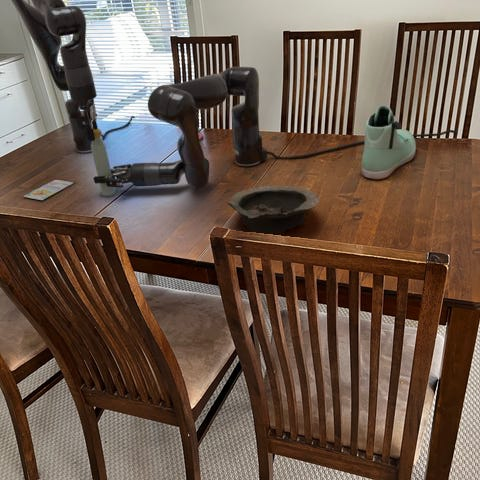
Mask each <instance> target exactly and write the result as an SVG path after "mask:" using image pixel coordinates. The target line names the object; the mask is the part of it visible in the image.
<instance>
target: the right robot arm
mask: <svg viewBox="0 0 480 480" xmlns="http://www.w3.org/2000/svg"><path fill="white" fill-rule="evenodd" d="M228 96H236V97H244V102H242V103H238V104H236V105H234V106H233V107H232V108H231V122H232V134H233V135H232V136H233V147H234V149H233V153H234V159H235V160H234V163H235V165H237V166H238V167H246V168H248V167H249V168H250V167H255V166H258V165H259V164H260V163H264V160H267V159H268V155H270V156H272V157H273V158H275V159H277V160H294V159H295V160H296V159H302V158H303V159H304V158H308V157H312V156H316V155H321V154H325V153H329V152H333V151H337V150H341V149H345V148H350V147H353V146H359V145H364V144H365V140H361V141H356V142H352V143H349V144H348V143H347V144H344V145H340V146H336V147H331V148H327V149H324V150H320V151H316V152H311V153H307V154H306V153H305V154H301V155H292V156H280V155H279V156H278V155H277V154H275V153H274V152H272V151H268V149H266V148H264V147H263V138H262V136H261V134H260V121H259V120H260V119H259V109H260V108H259V107H260V106H259V105H260V78H259V72H258V69H256V68H255V67H253V66H230V67H228V68H226V69H225V70H223V71H220V72H219V73H211V74H208V75H203V76H200V77H198V78H195V79H194V78H193V79H190V80H187V81H183V82H179V83H171V84H170V83H168V84H161V85H159V86H158V87H156V88H154V90H152V92H151V93H150V95H149V97H148V100H147V110H148V112H149V114H150V115H151V116H152V117H153V118H154V119H156V120H158V121H161V122H163V123H166V124H168V125H171V126H176V127H178V128H179V129H180V131H181V134H180V136H179V137H178V139H177V143H176V145H177V146H176V149H177V153H178V155H179V157H180V159H179V160H176V161H172V162H136V163H132V164H131V163H126V164H121V165H115V166H113V168H112V167H110V169H111V173H112V175H109V176H98V175H96V176H94V177H93V183H95V184H96V185H97V184H100V183H106V186H107V187H115V188H118V189H119V188H120V189H122V188H124V184H130V183H131V184H132V185H133V186H134V187H135V188H137V187H140V188H141V187H156V186H162V185H163V186H164V185H165V186H166V185H177V184H179V183H180V182H181V180H182V176H183V175H184V176H185V180H186V183H187V184H188V185H189V186H190V187H191V188H193V189H196V190H201V189H204V188H205V187H207V185H208V184H209V180H210V161H209V159H208V158H207V157H205V154H204V151H203V147H202V145H201V142H200V140H199V136H198V133H199V124H198V113H197V111H199V110H201V111H203V110H209V109H212V108H213V109H214V108H216V107H218V106H220V105H221V104H224V102H225V101H226V99H227V97H228ZM448 133H449V134H450V133H452V134H454V135H458V132H457V131H456V130H453V129H448V130H445V131H442V132H439V133H421V134H420V133H418V134H417V133H416V134H412V135H413V137H414V138H420V137H421V138H422V137H425V138H427V137H439V136H443V135H445V134H448Z"/></svg>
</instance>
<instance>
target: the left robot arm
mask: <svg viewBox="0 0 480 480" xmlns="http://www.w3.org/2000/svg"><path fill="white" fill-rule="evenodd" d="M10 2H11V3H12V5H13V6H14V7H15V9H16V11H17V13H18V14H19V16H20V18H21V20H22V23H24V26H25V28H26V30H27V31H28V34H29V35H30V38H31V39H32V41H33V43H34V44H35V46H36V48H37V50H38V52H39V53H40V55H41V56H42V59H43V60H44V63H45V65H46V67H47V69H48V71H49V74H50V76H51V78H52V80H53V83H54V85H55V87H56V88H57V89H58V90H59V91H61V92H68V93H69V96H70V98H69V99H67V100H65V102H64V106H65V110H66V114H67V115H66V116H67V118H68V122H69V126H70V130H71V133H72V137H73V138H72V140H73V143H74V145H75V148H76V149H75V150H76V152H77V153H80V154H87V153H92V150H91V144H92V143H91V142H92V141H95V135H94V131H93V129H99V126H98V123H97V118H98V114H97V110H96V105H95V98H97V95H98V93H97V90H96V85H95V80H94V76H93V72H92V70H91V67H90V63H89V58H88V53H87V45H86V43H87V18H86V16H85V13H84V12H83V10H82V9H81V8H80V7H79V6H77V5H69V6H66V3H65V2H64V1H63V0H31V3H32V5H31V4H30V3H29V2H28V1H26V0H10ZM71 35H72V38H71V41H70V42H68V43H66V44H64V45H62V37H65V36H71ZM59 54H60V58H61V61H62V64H63V65H61V64H60V63H59V60H58V57H59ZM133 119H136V117H135V116H134V115H132V116H130V119H129V121H128V122H127V123H125V124H123V125H122V126H118V127H115V128H111V129H109V130H106V131H105V132H104V134H102V136H101V139H105V138H106V137H107V134H109V133H111V132H114V131H118V130H121V129H124V128H126V127H128V126H129V124H131V122H132V120H133Z"/></svg>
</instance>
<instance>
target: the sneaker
mask: <svg viewBox="0 0 480 480" xmlns="http://www.w3.org/2000/svg"><path fill="white" fill-rule="evenodd" d="M364 129H365V130H364V141H365V143H364V148H363V153H362V158H361V175H362V176H363V177H365V178H367V179H371V180H382V179H385V178H387V177H389V176H390V175H391V174H392V173H394V171H395V170H396V169H398V168H399V167H400V166H402V165H404V164H407V163H409V162H410V161H412V160H413V159H414V158H415V155H416V151H417V147H416V145H417V144H416V139H415V137H413V135H414V134H412V132H411V131H409V130H407V129H402V125H401V123H400V122H398V120H396V116H395V115H393V110H392V109H391V108H390V107H389V106H387V105H379V106H378V107H377V108H376V111H375V112H373V114H371V115H370V116H369V117H368V118H367V121H366V123H365V128H364Z"/></svg>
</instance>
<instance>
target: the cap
mask: <svg viewBox="0 0 480 480" xmlns="http://www.w3.org/2000/svg"><path fill="white" fill-rule="evenodd" d="M93 131H94V135H95V138H99V137H100V138H102V135H103V134H102V131H101V129H100V128H98V129H93Z"/></svg>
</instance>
